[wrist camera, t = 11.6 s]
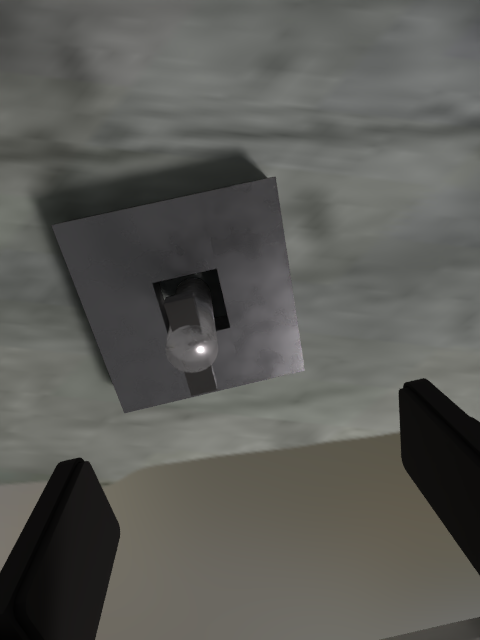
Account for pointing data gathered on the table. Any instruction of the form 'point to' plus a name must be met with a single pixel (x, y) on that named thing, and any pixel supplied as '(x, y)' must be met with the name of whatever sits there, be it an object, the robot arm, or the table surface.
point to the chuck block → (180, 260)
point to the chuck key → (192, 335)
